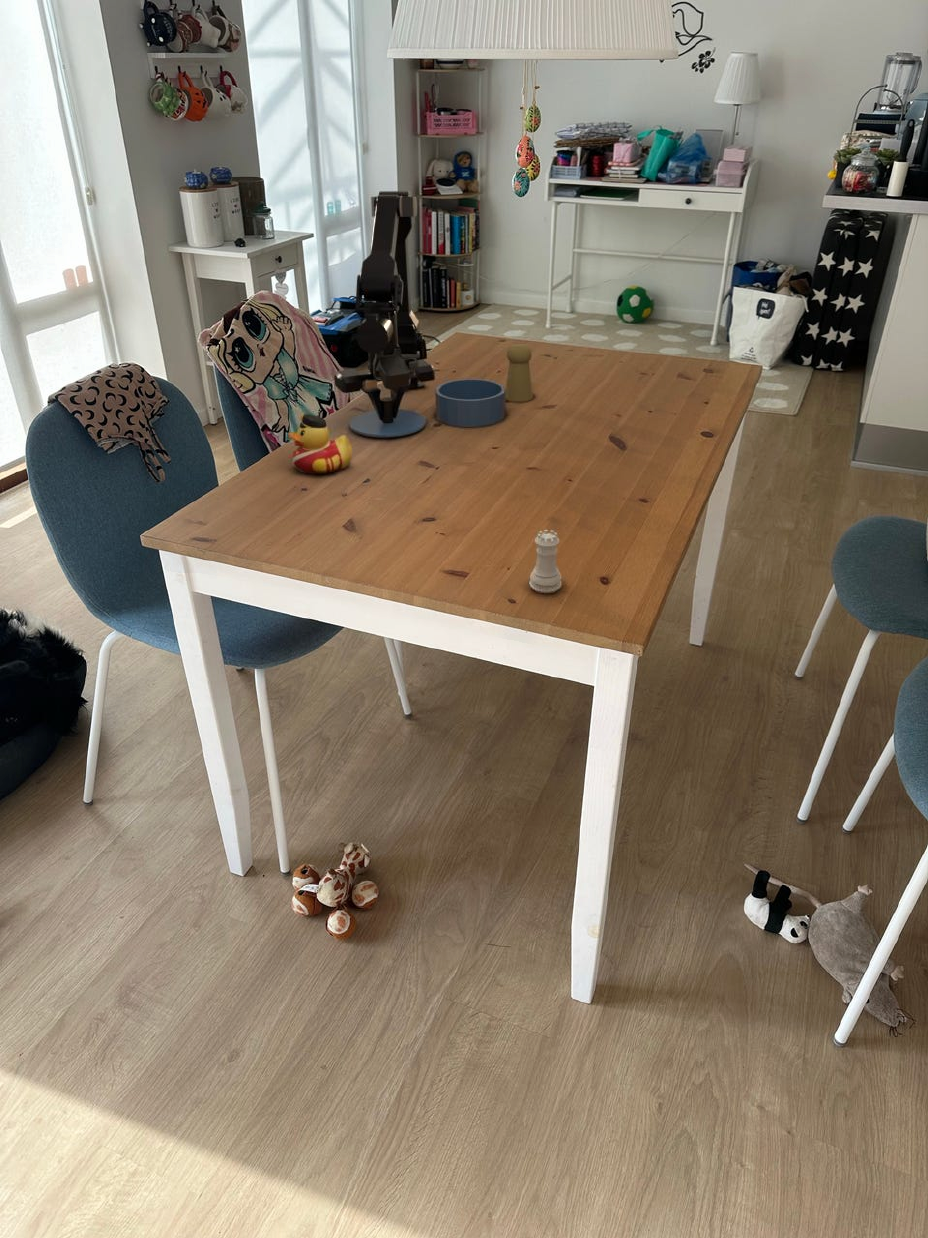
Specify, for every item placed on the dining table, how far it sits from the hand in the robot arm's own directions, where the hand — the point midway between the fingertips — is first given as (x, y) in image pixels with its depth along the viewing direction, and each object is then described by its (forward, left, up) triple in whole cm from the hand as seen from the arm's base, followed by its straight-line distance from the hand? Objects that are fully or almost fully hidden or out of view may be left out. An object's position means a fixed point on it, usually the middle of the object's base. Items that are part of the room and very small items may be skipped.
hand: (387, 418), depth 174 cm
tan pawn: (-5, +31, -2) cm, 32 cm away
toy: (+15, -18, -2) cm, 23 cm away
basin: (+1, +17, -2) cm, 18 cm away
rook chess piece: (+69, -2, -2) cm, 69 cm away
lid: (0, 0, -1) cm, 1 cm away
